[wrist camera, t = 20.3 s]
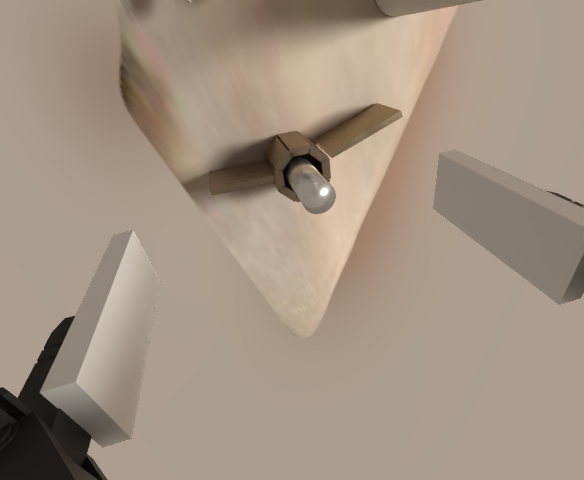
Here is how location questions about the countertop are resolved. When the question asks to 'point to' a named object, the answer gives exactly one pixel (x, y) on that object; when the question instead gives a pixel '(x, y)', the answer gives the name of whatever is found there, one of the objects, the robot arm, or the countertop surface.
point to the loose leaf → (357, 129)
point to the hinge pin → (309, 185)
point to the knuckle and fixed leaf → (271, 166)
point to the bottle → (415, 6)
